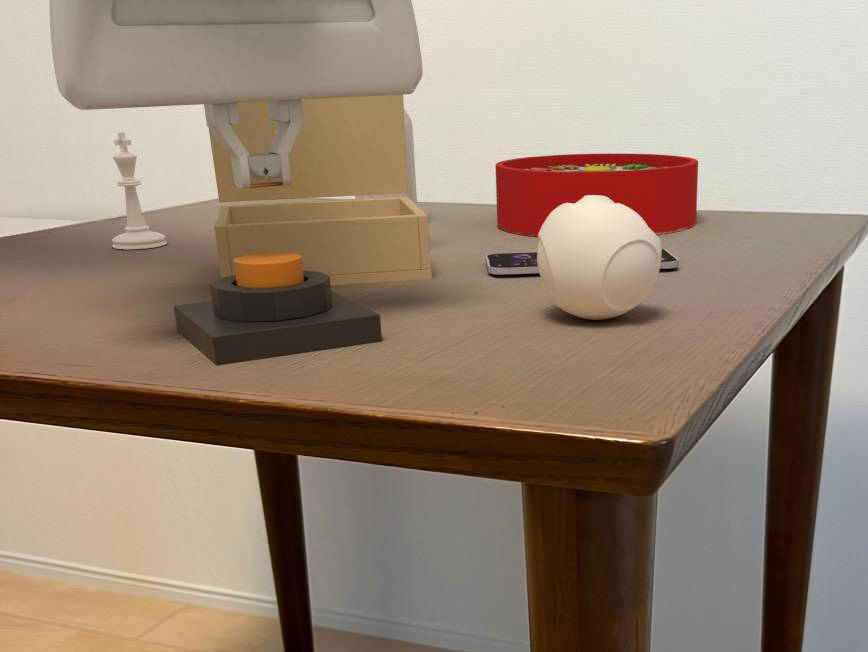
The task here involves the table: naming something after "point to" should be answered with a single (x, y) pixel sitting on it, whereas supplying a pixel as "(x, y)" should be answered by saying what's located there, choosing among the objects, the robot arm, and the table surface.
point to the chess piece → (133, 205)
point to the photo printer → (410, 166)
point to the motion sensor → (597, 257)
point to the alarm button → (268, 270)
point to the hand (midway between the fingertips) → (263, 186)
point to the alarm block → (274, 320)
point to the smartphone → (528, 263)
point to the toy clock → (597, 188)
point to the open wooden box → (332, 237)
